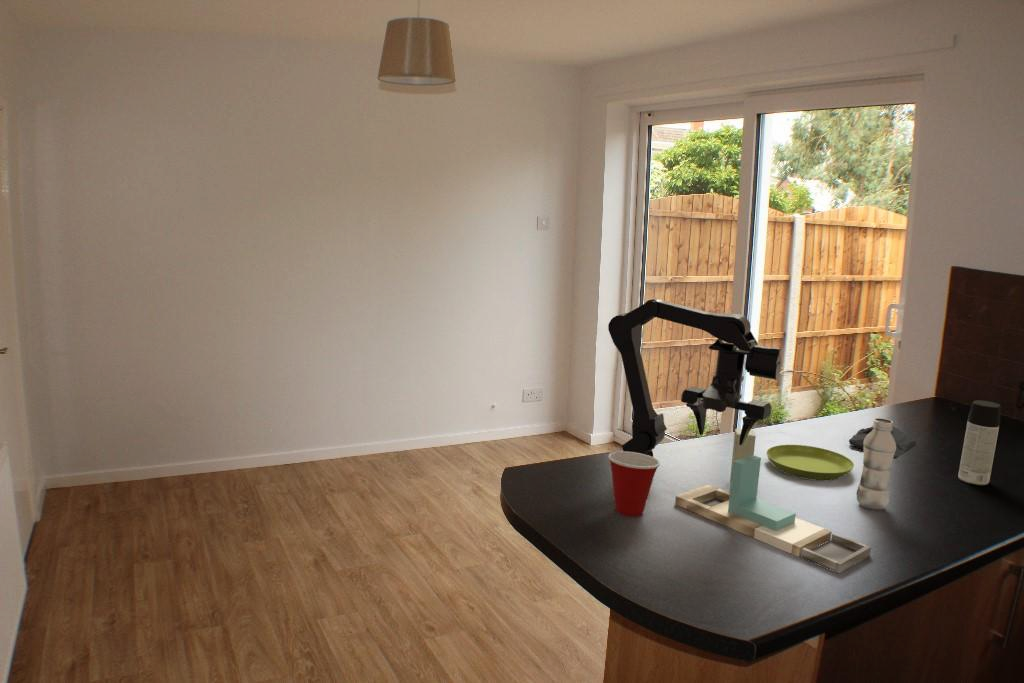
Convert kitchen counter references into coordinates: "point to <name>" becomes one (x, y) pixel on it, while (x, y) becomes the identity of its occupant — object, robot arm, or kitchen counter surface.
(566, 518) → the kitchen counter surface
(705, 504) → the birch board
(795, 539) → the cream pad
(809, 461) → the saucer
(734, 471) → the teal L-block
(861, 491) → the plastic bottle
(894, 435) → the dark grey crumpled cloth
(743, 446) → the box
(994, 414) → the spray can
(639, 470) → the plastic cup
